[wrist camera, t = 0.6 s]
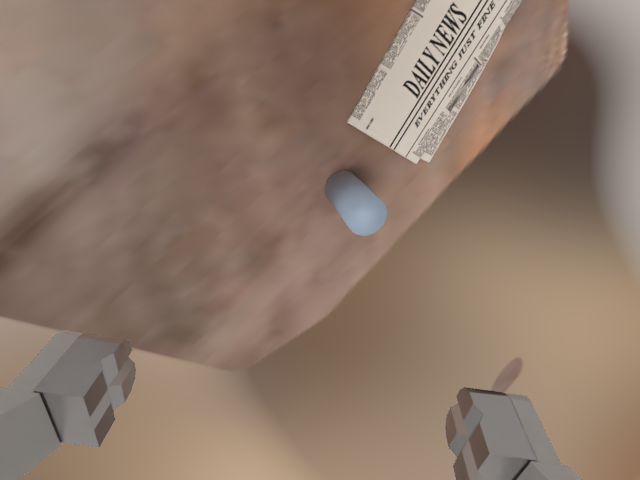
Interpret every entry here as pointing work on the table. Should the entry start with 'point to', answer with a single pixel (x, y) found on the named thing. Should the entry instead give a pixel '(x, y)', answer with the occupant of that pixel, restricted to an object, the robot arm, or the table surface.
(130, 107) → the table surface
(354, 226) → the blue peg
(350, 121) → the newspaper
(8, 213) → the table surface
